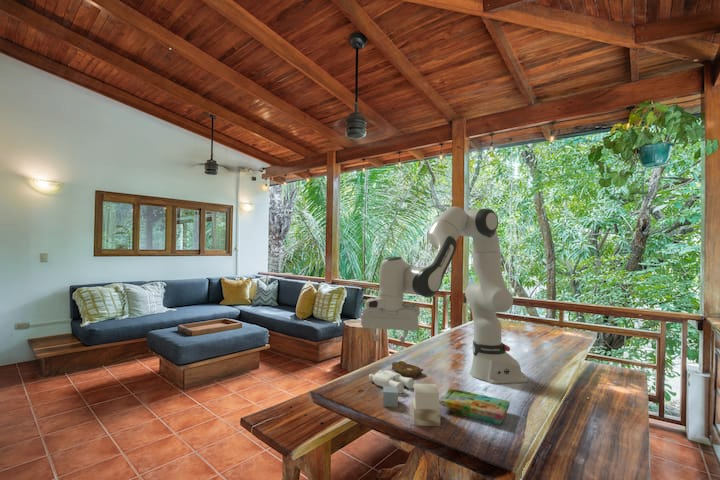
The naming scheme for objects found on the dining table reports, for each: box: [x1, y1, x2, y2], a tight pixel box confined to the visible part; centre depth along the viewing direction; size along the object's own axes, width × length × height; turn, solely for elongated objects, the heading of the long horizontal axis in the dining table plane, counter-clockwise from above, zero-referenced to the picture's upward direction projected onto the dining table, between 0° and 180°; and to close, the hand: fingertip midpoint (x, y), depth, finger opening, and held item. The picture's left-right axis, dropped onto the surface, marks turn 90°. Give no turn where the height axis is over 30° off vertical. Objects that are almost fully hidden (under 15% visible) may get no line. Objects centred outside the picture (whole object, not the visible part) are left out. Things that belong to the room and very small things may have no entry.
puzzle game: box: [439, 388, 510, 426], centre depth 116 cm, size 12×5×20 cm
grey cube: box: [382, 386, 399, 408], centre depth 121 cm, size 5×5×5 cm
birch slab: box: [411, 397, 441, 427], centre depth 110 cm, size 8×8×5 cm
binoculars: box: [368, 369, 415, 395], centre depth 137 cm, size 10×16×5 cm, turn 44°
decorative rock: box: [391, 360, 424, 380], centre depth 150 cm, size 11×4×15 cm
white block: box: [413, 383, 440, 410], centre depth 110 cm, size 7×7×5 cm
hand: (389, 341), depth 123 cm, fingers open, 8 cm apart
